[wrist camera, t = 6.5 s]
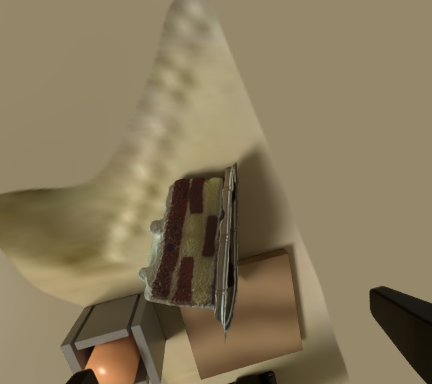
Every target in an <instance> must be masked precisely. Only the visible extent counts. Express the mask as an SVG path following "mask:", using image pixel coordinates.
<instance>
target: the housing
mask: <svg viewBox="0 0 432 384" xmlns="http://www.w3.org/2000/svg"><path fill="white" fill-rule="evenodd" d="M131 329H132V332H133V335H134V338H135V340H136V343H137V346H138V348H139V351H140V354H141V355H140V359H139V364H138V368H137V373H136V377H135V381H134V383H133V384H149V379H150V381H151V383H152V384H159V383H161V376H162V368H163V360H164V351H165V342H166V341H165V338H164V335H163V332H162V329H161V326H160V323H159V320H158V317H157V314H156V311H155V308H154V305H153V302H151V301H148V300H146V299H145V292H144V293H141V296H140V299H139V296H138V294H136V295H132V296H128V297H125V298H121V299H117V300H113V301H109V302H106V303H102V304H98V305H96V306H95V308H94V309H93V307H92V306H90V307H87V308H84V310H83V311H82V313H81V315H80V316H79V318H78V319H77V321H76V322H75V324H74V326H73V327H72V329H71V330H70V332H69V333H68V335H67V337H66V338H65V340H64V341H63V343H62V345H61V346H60V347H61V349H62V352H63V353H64V356H65V358H66V360H67V362H68V364H69V366H70V368H71V370H72V372H73V375H74V374H75V373H76V372H78V371H81V370H84V369H85V367H86V365H87V363H88V361H89V358H90V356H91V354H92V352H93V350H94V348H95V345H98V344H102V343H105V342H109V341H112V340H116V339H120V338H123V337H127V336H129V334H130V331H131Z"/></svg>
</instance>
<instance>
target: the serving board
mask: <svg viewBox="0 0 432 384" xmlns="http://www.w3.org/2000/svg"><path fill="white" fill-rule="evenodd" d="M237 266H238V267H239V269H238V293H237V298H236V305H235V310H234V316H235V317H234V318H233V320H232V321H231V327H230V329H229V330H228V331H227V332H226V334H227V337H226V340H225V336H224V326H223V324H221V323H220V322H219V321H218V320H216V318H215V315H214V311H213V310H210V309H201V308H198V309H194V308H188V307H180V306H179V308H180V312H181V315H182V318H183V322H184V325H185V328H186V332H187V335H188V338H189V342H190V345H191V348H192V352H193V355H194V358H195V362H196V365H197V368H198V372H199V375H200V378H201V380H202V379H205V378H209V377H212V376H215V375H219V374H222V373H226V372H229V371H232V370H236V369H239V368H242V367H246V366H249V365H253V364H256V363H259V362H263V361H266V360H269V359H273V358H276V357H280V356H283V355H286V354H290V353H293V352H297V351H300V350H303V349H302V343H301V336H300V329H299V322H298V316H297V309H296V302H295V295H294V289H293V282H292V275H291V268H290V262H289V255H288V253H287V252H286V250H285V249H280V250H276V251H273V252H269V253H265V254H261V255H257V256H253V257H250V258H246V259H242V260H238V261H237Z"/></svg>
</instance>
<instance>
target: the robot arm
mask: <svg viewBox="0 0 432 384" xmlns="http://www.w3.org/2000/svg"><path fill="white" fill-rule="evenodd" d="M370 310H371V313H372V315H373V317H374V318H375V320H376V321H377V322H378V324H379V325H380V326H381V327H382V329H383V330H384V331H385V333H386V334H387V335H388V336H389V338H390V339H391V340H392V342H393V343H394V344H395V346H396V347H397V348H398V350H399V351H400V352H401V353H402V355H403V356H404V357H405V358H406V360H407V361H408V362H409V364H410V365H411V366H412V367H413V369H414V370H415V371H416V372H417V373H418V374H419V375H420V376H421V378H422V379H423V380H424V381H425V382H426V383H427V384H432V303H429V302H427V301H423V300H421V299H418V298H415V297H413V296H410V295H407V294H404V293H402V292H399V291H396V290H393V289H390V288H388V287H385V286H380V287H376V288H373V289H371V290H370ZM270 374H272V376H270V377H269V375H270ZM66 384H99V382H98V380H97V378H96V376H95V373H94V371H93V370H92V369H91V368H88V369H85V370H81V371H78V372H76V373H75V374H74V375H73V376H72V377H71V378H70V379H69V381H68V382H67V383H66ZM229 384H277V383H276V378H275V374H274V372H273V371H269V372H266V373H263V374H259V375H255V376H251V377H248V378H245V379H241V380H238V381H235V382H232V383H229Z"/></svg>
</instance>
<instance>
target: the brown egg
mask: <svg viewBox="0 0 432 384" xmlns="http://www.w3.org/2000/svg"><path fill="white" fill-rule="evenodd" d="M140 355H141V354H140V351H139V348H138V346H137V343H136V340H135V338H134V335H133V332H132V329H131V331H130V334H129V336H127V337H123V338H120V339H116V340H112V341H109V342H105V343H102V344H98V345H95V348H94V350H93V352H92V354H91V356H90V358H89V361H88V363H87V365H86V367H85V369H88V368H91V369H92V370H93V371H94V373H95V376H96V378H97V380H98V382H99V384H133V383H134V381H135V377H136V373H137V368H138V364H139V359H140ZM85 369H84V370H85Z"/></svg>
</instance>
